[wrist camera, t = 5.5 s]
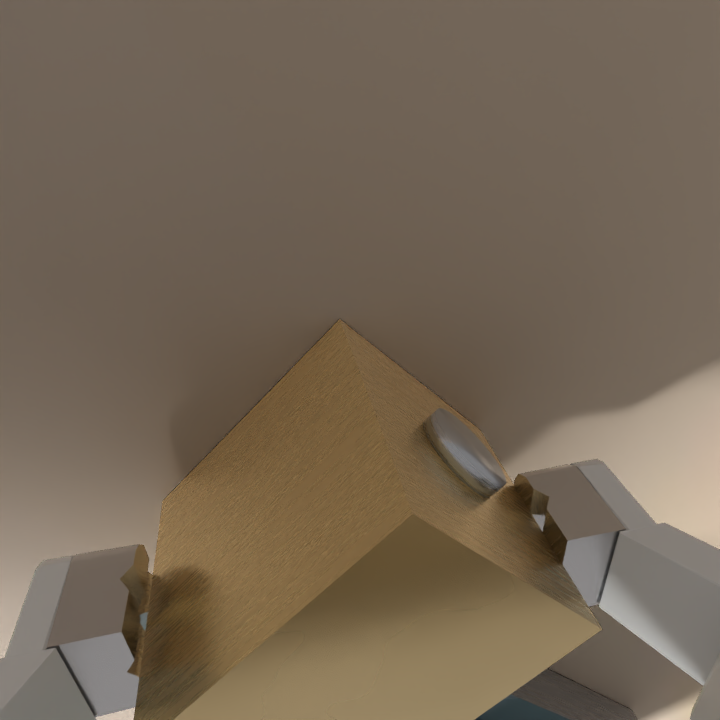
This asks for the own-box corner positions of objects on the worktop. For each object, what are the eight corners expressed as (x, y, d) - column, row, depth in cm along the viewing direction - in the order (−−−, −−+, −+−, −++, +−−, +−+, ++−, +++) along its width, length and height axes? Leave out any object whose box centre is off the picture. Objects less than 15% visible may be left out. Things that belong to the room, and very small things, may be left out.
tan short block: (315, 573, 13) (353, 805, 9) (162, 501, 11) (128, 757, 7) (490, 419, 11) (619, 616, 8) (351, 306, 10) (433, 495, 6)
